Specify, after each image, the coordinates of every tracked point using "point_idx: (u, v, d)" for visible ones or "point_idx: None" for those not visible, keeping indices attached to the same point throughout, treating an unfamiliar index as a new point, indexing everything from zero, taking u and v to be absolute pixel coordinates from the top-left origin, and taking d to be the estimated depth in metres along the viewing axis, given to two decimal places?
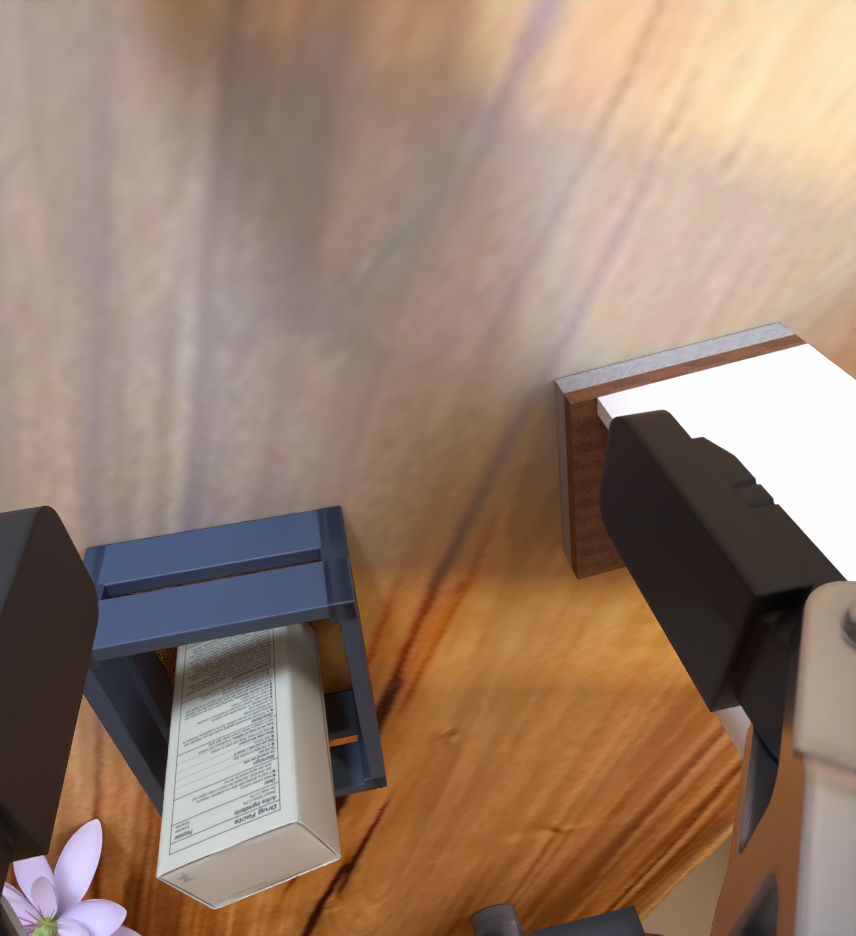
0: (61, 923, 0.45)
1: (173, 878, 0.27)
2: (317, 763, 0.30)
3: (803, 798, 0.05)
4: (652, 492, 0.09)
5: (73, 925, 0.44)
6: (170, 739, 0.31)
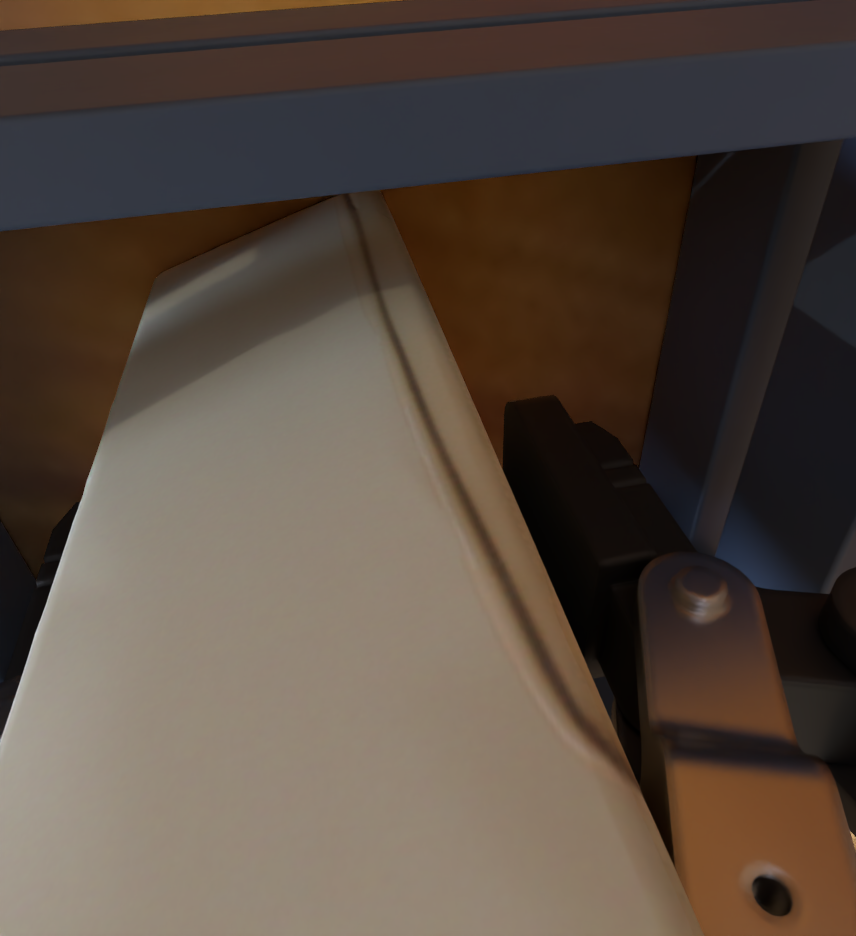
0: None
1: None
2: (282, 613, 0.05)
3: (665, 782, 0.05)
4: (534, 472, 0.10)
5: None
6: None
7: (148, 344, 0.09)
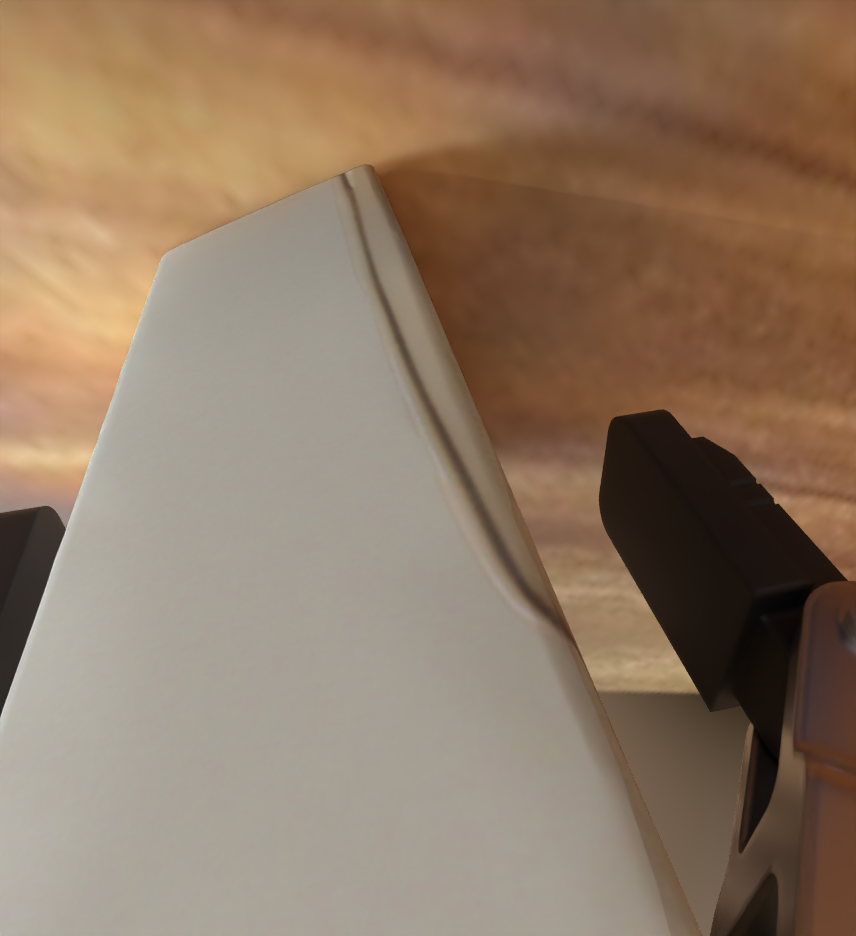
0: None
1: None
2: (276, 524, 0.05)
3: (803, 798, 0.05)
4: (652, 492, 0.09)
5: None
6: None
7: (156, 313, 0.10)
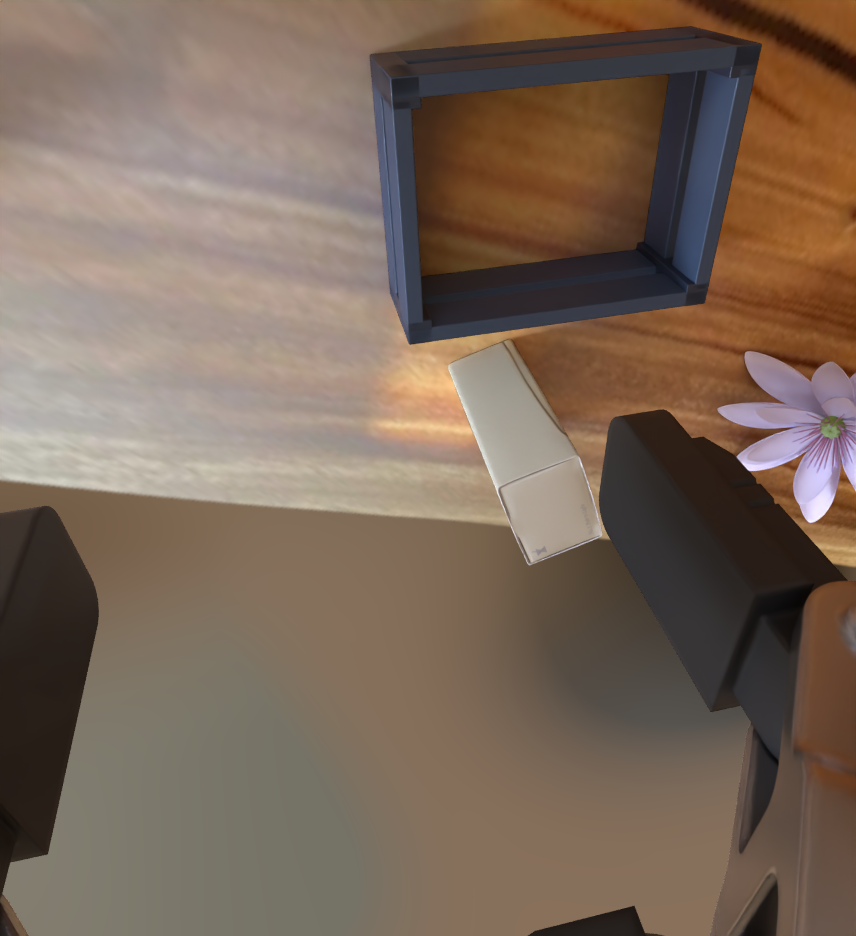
0: (833, 413, 0.46)
1: (537, 557, 0.36)
2: (522, 427, 0.35)
3: (802, 798, 0.05)
4: (653, 491, 0.09)
5: (835, 405, 0.45)
6: None
7: (463, 385, 0.40)
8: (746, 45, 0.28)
